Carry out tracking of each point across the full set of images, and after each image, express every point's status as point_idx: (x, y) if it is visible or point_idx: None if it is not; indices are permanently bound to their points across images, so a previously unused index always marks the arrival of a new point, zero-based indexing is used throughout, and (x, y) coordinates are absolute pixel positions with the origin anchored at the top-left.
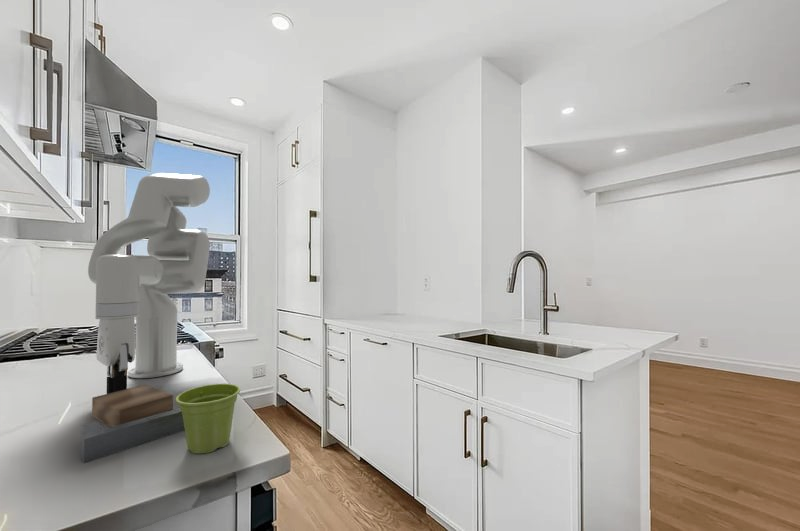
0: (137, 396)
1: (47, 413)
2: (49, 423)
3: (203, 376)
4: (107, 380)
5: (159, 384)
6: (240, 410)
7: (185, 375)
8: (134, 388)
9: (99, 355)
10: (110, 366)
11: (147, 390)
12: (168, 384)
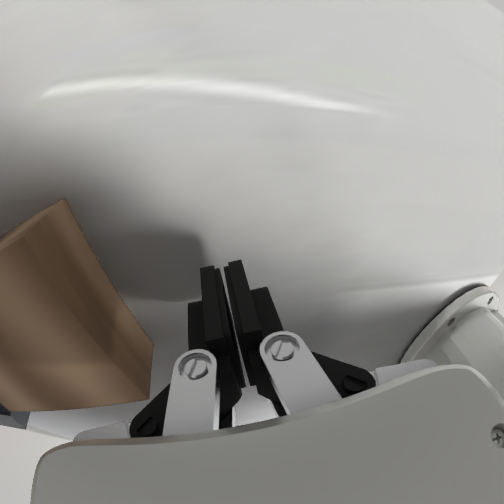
0: (5, 365)
1: (247, 20)
2: (74, 52)
3: None
4: (241, 317)
5: None
6: None
7: None
8: (103, 376)
9: (341, 483)
10: (283, 404)
11: (61, 394)
12: None
